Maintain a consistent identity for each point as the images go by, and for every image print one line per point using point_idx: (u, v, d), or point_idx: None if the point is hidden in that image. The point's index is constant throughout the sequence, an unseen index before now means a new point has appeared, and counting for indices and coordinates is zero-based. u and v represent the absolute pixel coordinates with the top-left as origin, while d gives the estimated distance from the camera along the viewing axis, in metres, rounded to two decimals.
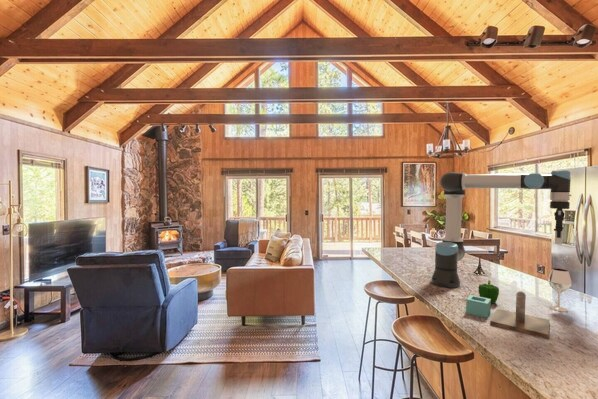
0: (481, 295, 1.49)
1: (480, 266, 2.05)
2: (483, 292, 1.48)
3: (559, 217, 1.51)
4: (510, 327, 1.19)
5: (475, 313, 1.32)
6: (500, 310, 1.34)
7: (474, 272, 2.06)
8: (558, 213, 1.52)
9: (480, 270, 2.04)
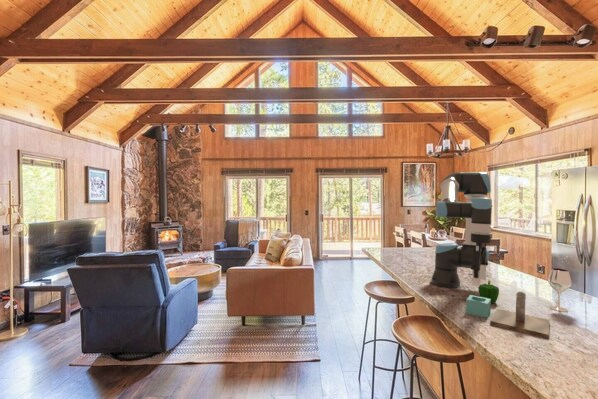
0: (481, 295, 1.49)
1: None
2: (483, 292, 1.48)
3: (476, 254, 1.29)
4: (510, 327, 1.19)
5: (475, 313, 1.32)
6: (500, 310, 1.34)
7: None
8: (476, 249, 1.29)
9: None
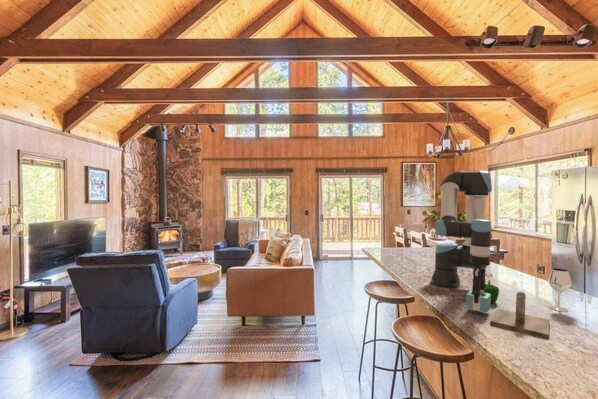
0: None
1: None
2: None
3: (476, 279, 1.30)
4: (510, 327, 1.19)
5: None
6: (500, 310, 1.34)
7: None
8: (475, 274, 1.30)
9: None
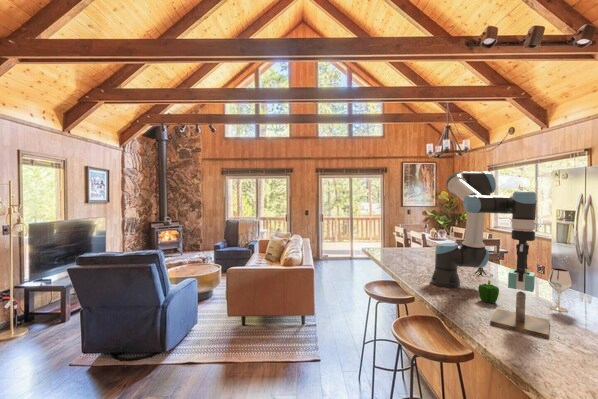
0: (481, 295, 1.49)
1: None
2: (483, 292, 1.48)
3: (521, 255, 1.18)
4: (510, 327, 1.19)
5: None
6: (500, 310, 1.34)
7: (475, 273, 2.04)
8: (520, 250, 1.19)
9: (481, 271, 2.02)
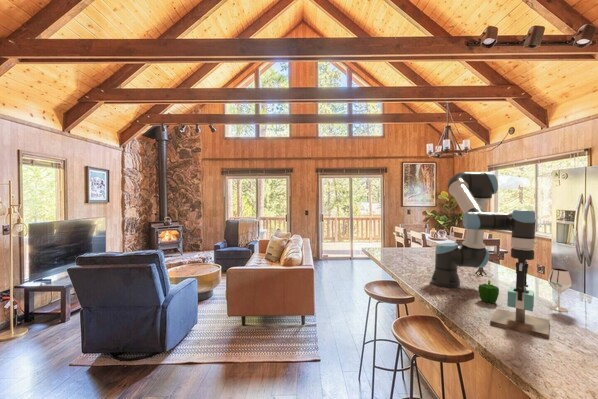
0: (481, 295, 1.49)
1: None
2: (483, 292, 1.48)
3: (520, 274, 1.18)
4: (510, 327, 1.19)
5: None
6: (500, 310, 1.34)
7: (475, 273, 2.04)
8: (519, 269, 1.19)
9: (481, 271, 2.01)
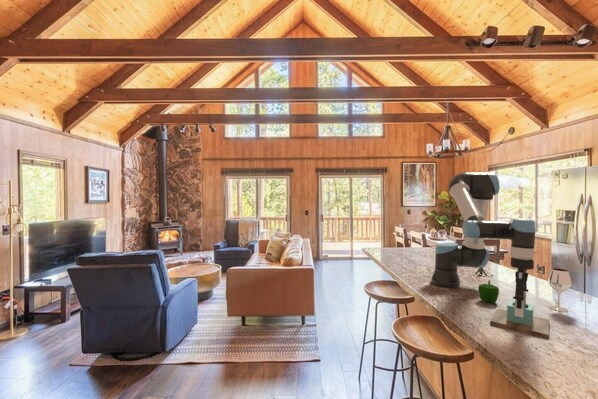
0: (481, 295, 1.49)
1: (482, 267, 2.02)
2: (483, 292, 1.48)
3: (520, 282, 1.18)
4: (510, 327, 1.19)
5: (518, 321, 1.21)
6: (500, 310, 1.34)
7: (475, 273, 2.03)
8: (518, 276, 1.19)
9: (481, 271, 2.01)
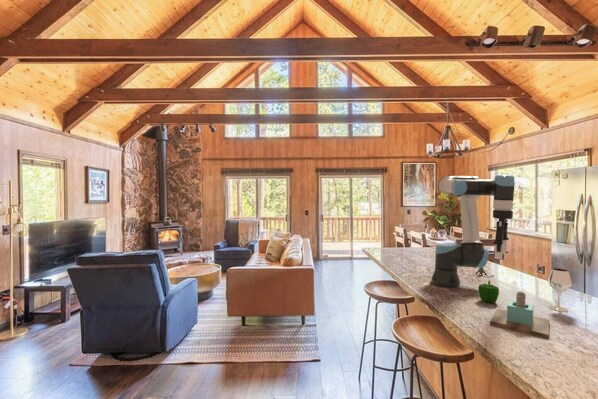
0: (481, 295, 1.49)
1: (482, 267, 2.01)
2: (483, 292, 1.48)
3: (499, 229, 1.34)
4: (510, 327, 1.19)
5: (518, 321, 1.21)
6: (500, 310, 1.34)
7: (476, 273, 2.03)
8: (499, 224, 1.35)
9: (482, 271, 2.00)
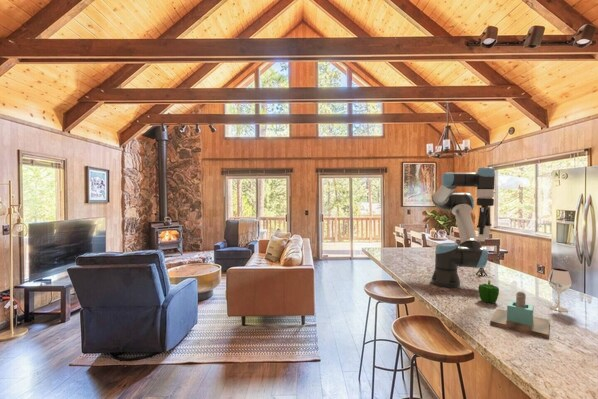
0: (481, 295, 1.49)
1: None
2: (483, 292, 1.48)
3: (482, 214, 1.52)
4: (510, 327, 1.19)
5: (518, 321, 1.21)
6: (500, 310, 1.34)
7: (476, 273, 2.02)
8: (481, 210, 1.53)
9: (482, 271, 2.00)
